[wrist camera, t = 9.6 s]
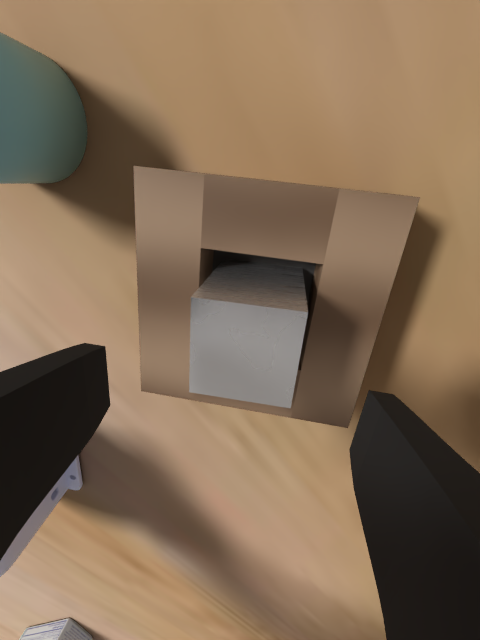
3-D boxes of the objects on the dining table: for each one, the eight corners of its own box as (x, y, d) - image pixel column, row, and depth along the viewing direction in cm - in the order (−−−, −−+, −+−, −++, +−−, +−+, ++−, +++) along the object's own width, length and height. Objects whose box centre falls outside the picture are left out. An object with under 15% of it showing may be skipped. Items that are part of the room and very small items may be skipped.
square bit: (290, 338, 18) (290, 408, 12) (220, 328, 18) (189, 392, 13) (302, 267, 16) (308, 312, 10) (224, 258, 16) (190, 297, 11)
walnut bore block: (339, 392, 19) (347, 427, 16) (161, 362, 20) (141, 390, 17) (395, 194, 14) (419, 197, 12) (161, 168, 15) (133, 165, 13)
